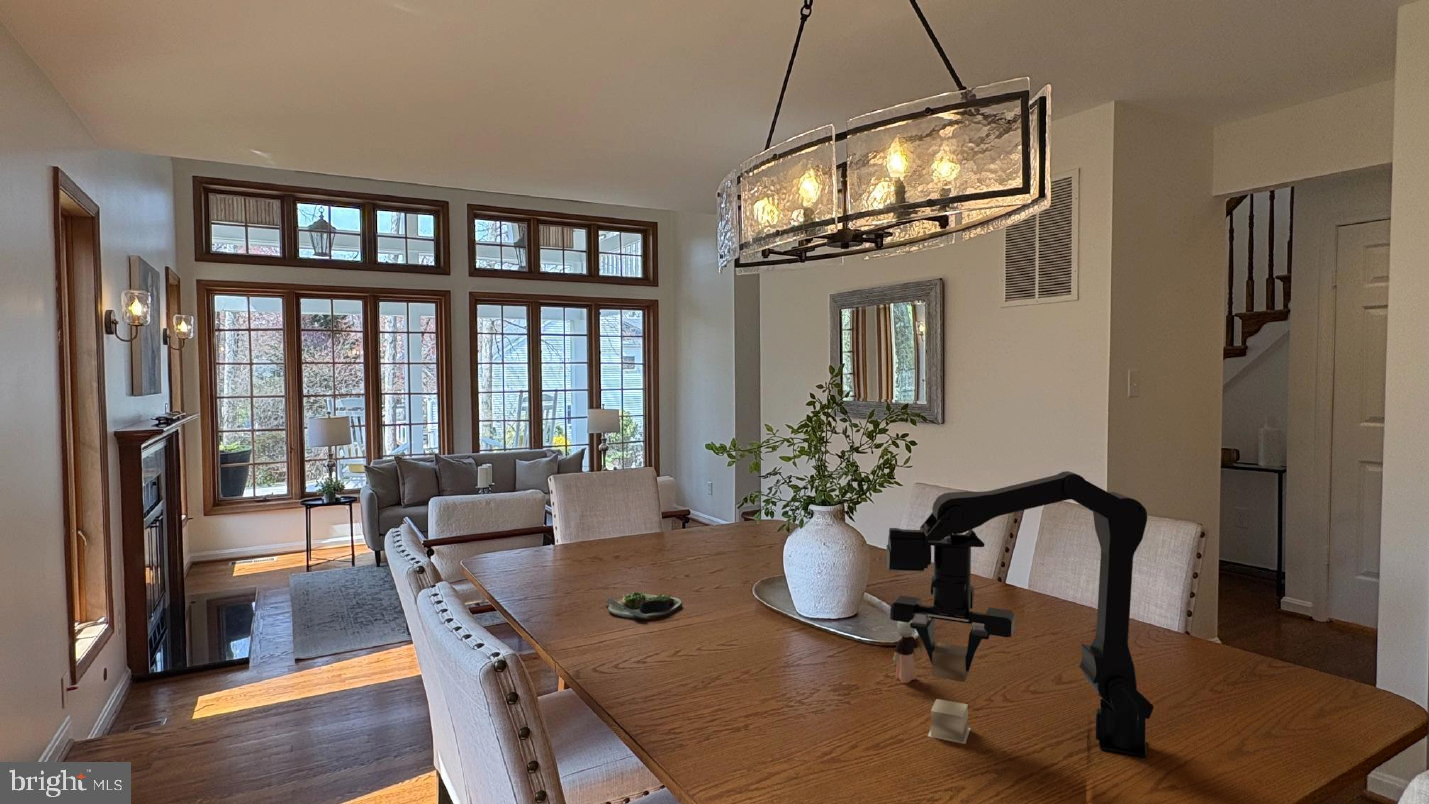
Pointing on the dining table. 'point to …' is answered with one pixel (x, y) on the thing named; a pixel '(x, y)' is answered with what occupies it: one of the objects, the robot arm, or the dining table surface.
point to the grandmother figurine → (905, 653)
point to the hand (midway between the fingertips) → (950, 667)
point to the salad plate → (644, 606)
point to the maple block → (949, 720)
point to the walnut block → (949, 662)
